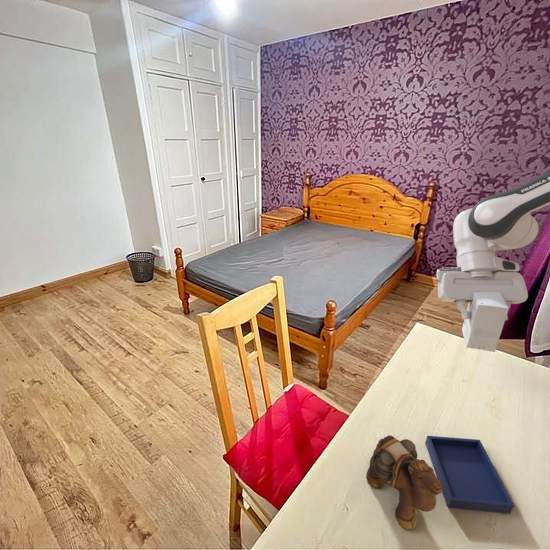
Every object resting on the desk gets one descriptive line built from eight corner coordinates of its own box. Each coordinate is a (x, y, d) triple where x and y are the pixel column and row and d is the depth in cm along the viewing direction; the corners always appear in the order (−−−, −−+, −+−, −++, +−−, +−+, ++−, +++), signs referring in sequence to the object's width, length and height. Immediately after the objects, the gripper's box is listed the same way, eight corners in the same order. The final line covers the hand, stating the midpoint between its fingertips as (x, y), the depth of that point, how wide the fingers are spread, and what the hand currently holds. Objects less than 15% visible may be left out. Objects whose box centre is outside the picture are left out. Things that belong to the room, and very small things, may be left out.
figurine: (407, 549, 53) (424, 501, 46) (351, 469, 65) (358, 422, 59) (444, 521, 57) (465, 472, 50) (385, 450, 69) (395, 404, 62)
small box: (495, 352, 76) (510, 308, 70) (466, 348, 78) (477, 304, 72) (488, 333, 82) (501, 291, 76) (461, 329, 85) (471, 288, 79)
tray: (476, 447, 69) (479, 439, 68) (510, 513, 57) (514, 506, 56) (424, 442, 70) (427, 435, 69) (447, 507, 59) (450, 500, 57)
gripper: (440, 262, 79) (446, 315, 75) (526, 264, 77) (537, 318, 72) (431, 270, 85) (436, 320, 81) (510, 272, 83) (520, 323, 78)
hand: (485, 319), depth 77 cm, fingers closed on small box, 7 cm apart
